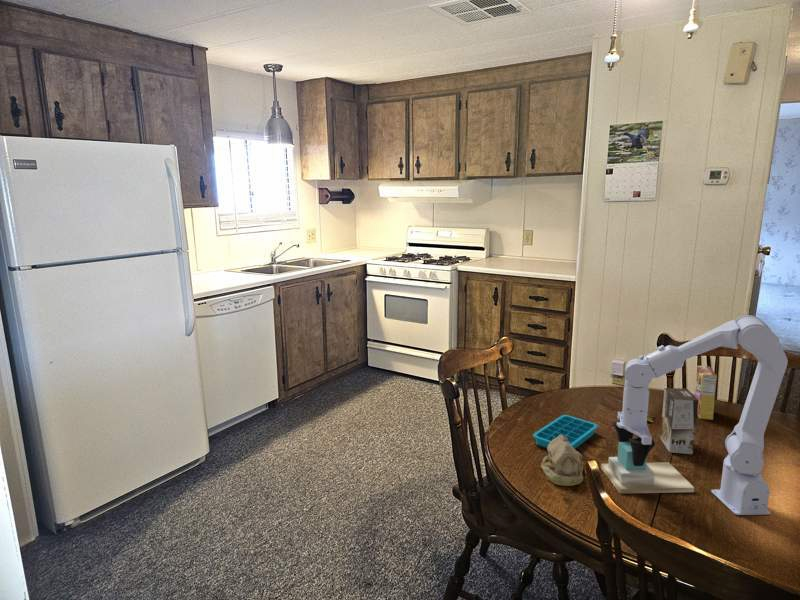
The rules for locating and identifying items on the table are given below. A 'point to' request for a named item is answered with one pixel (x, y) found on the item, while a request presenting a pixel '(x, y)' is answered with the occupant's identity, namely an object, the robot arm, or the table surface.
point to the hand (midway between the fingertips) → (631, 457)
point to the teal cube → (628, 457)
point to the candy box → (705, 392)
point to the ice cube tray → (566, 431)
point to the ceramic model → (562, 463)
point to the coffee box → (679, 420)
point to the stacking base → (660, 480)
